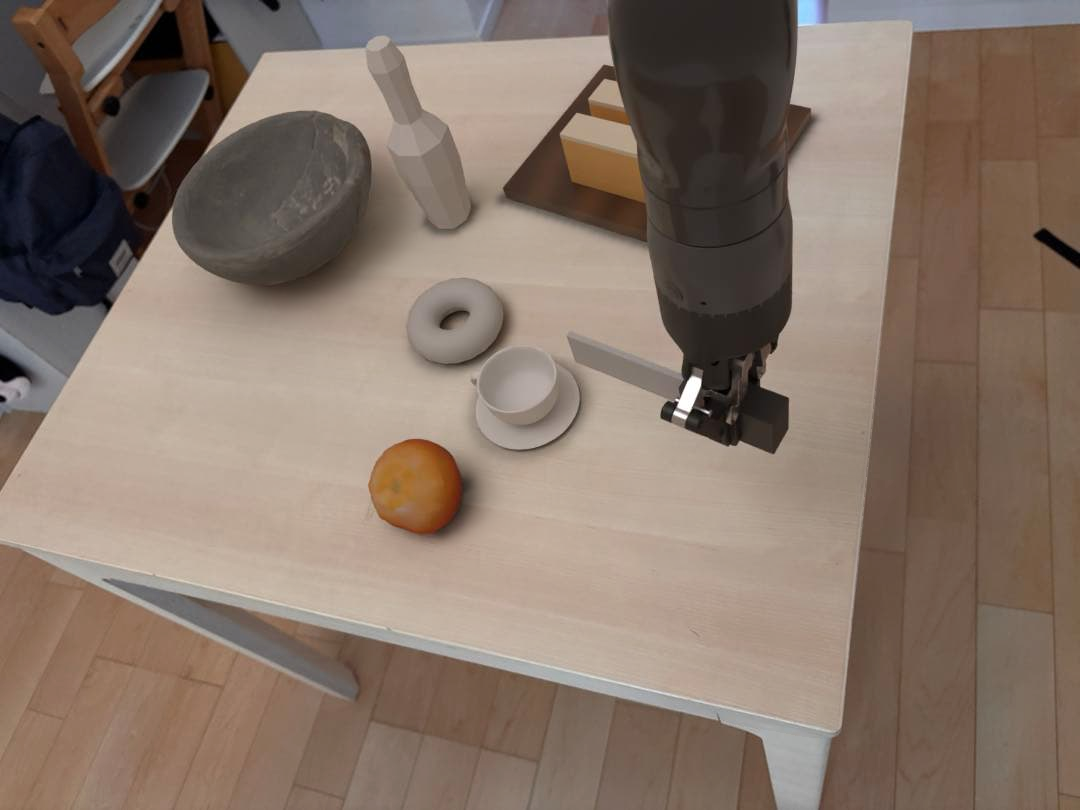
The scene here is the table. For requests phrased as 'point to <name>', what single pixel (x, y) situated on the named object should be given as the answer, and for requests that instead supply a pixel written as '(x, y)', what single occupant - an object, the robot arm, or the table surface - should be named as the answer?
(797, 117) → the board
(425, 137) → the faceted bottle
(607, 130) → the orange u-shaped channel
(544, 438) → the teacup
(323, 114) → the bowl
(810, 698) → the table surface
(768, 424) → the kitchen blade
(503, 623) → the table surface
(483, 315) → the donut
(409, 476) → the fruit
